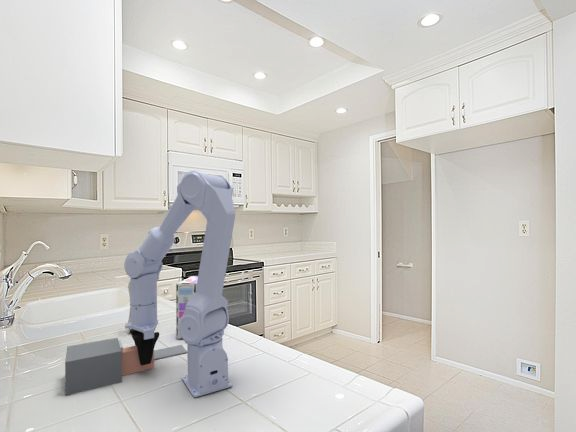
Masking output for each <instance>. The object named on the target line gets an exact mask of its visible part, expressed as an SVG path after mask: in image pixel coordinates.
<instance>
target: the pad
mask: <svg viewBox="0 0 576 432" xmlns="http://www.w3.org/2000/svg"><path fill="white" fill-rule="evenodd" d="M184 354H187V349H186V348H185V347H184V345H183V344H179V345H173V346H169V347H164V348H159V349H154V361H157V360H160V359H165V358H169V357H176V356H181V355H184Z"/></svg>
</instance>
